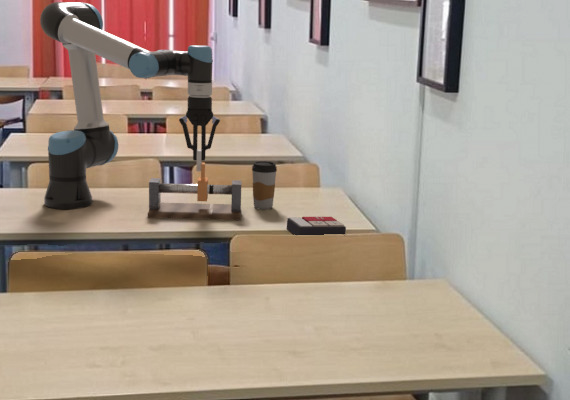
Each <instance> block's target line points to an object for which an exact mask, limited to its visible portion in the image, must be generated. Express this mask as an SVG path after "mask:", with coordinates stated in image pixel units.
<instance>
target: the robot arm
mask: <svg viewBox="0 0 570 400" xmlns="http://www.w3.org/2000/svg"><path fill="white" fill-rule="evenodd" d="M39 20H40V22H39V23H40V26H41V29H42V31H43V32H44V34H45V35H46V36H47V37H49V38H50V39H52V40H55V41H57V42H58V43H60V44H62V47H63V48H64V49H66V50H67V52H68V60H69V66H70V75H71V81H72V89H73V97H74V104H75V112H76V119H77V123H76V124H75V126H74V128H73V130H72V129H71V130H66V131H65V130H62V131H57V132H55V133H53V134H51V135H50V136H49V138H48V146H47V151H48V152H47V153H48V155H47V156H48V175H49V178H48V179H49V181H48V185H47V188H46V191H45V195H44V200H43V201H44V206H46V207H47V208H51V209H56V210H57V209H58V210H73V209H74V210H75V209H82V208H86V207H90V206H91V205H92V204H93V196H92V193H91V190H90V187H89V185H88V181H87V169H89V168H94V167H98V166H104V165H105V164H108V163H110V162H111V161H112V160H113V159H115V157H116V156H117V154H118V151H119V140H118V137H117V136H116V135H115V133H114V132H113V131H112V130H110V124H109V123H108V122H107V121H106V120H105V119H104V113H103V104H102V97H101V89H100V82H99V81H100V80H99V73H98V65H97V58H96V56H99V57H100V58H103V59H106V60H107V61H110V62H112V63H114V64H116V65H119V66H121V67H124V68H125V69H128V70H129V71H130V73H131V74H132V75H133V76H135V78H138V79H150V78H155V77H157V78H158V77H166V76H185V77H187V95H188V96H187V111H186V113H185V114H184V115H183V116H181V117H179V119H178V121H179V123H180V125H181V126H182V130H183V134H184V138H185V143H186V147H187V148H188V149H190V150H192V159H193V161H196V172H201V164H202V162H204V161H205V160H206V151H207V150H210V149H211V148H212V145H213V140H214V138H215V137H214V136H215V132H216V129H217V127H218V125H219V123H220V122H221V119H220V118H218V117H216V116H214V112H213V98H212V95H213V61H214V60H213V49H212V47H211V46H209V45H199V44H198V45H196V44H195V45H193V44H192V45H189V46H188V47H187V51H184V50H183V51H182V50H173V49H172V50H170V49H158V50H156V51H151V50H148V49H146V48H143V47H141V46H139V45H136V44H134V43H132V42H131V41H128V40H125V39H123V38H121V37H118V36H116V35H114V34H111V33H109V32H107V31H105V30H103V28H104V21H103V17H102V14H101V13H100V11H99V9H97V7H95V6H94V5H93V4H91V3H87V2H83V1H82V2H81V1H80V2H78V1H77V2H74V1H73V2H66V1H65V2H63V1H56V2H51V3H49V4H48V5H46V6H45V7H44V8H43V10H42V11H41V13H40V18H39ZM188 120H189V122H190V124H191V125H192V130H193V131H192V133H193V135H192V139H193V140H192V141H191V136H190V132H189V128H188V124H187V122H188ZM210 121H211V123H212V126H211V130H210V134H209V138H208V143H207V142H206V141H207V140H206V138H207V137H206V135H207V131H206V129H207V126H208V125H209V122H210ZM199 127H201V130H200V131H201V142H200V144H201V146H200V149H198V132H199V130H198V128H199ZM192 143H193V144H192ZM206 143H207V144H206Z"/></svg>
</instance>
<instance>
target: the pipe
mask: <svg viewBox="0 0 570 400" xmlns="http://www.w3.org/2000/svg"><path fill="white" fill-rule="evenodd" d="M197 191H198V183H194V184H193V183H190V184H189V183H163V182H161V178H159V177H158V178H157V177H156V178H155V177H151V178H150V179H149V181H148V211H149V210H159V208H160V203H161V194H190V195H191V194H194V195H195V194H197ZM207 194H208V195H226V196H227V195H229V196H230V195H231V203H230V204H231V212H241V213H242V211H241V209H242V180H237V179H235V180H233V179H232V180H231V184H208V185H207Z"/></svg>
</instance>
